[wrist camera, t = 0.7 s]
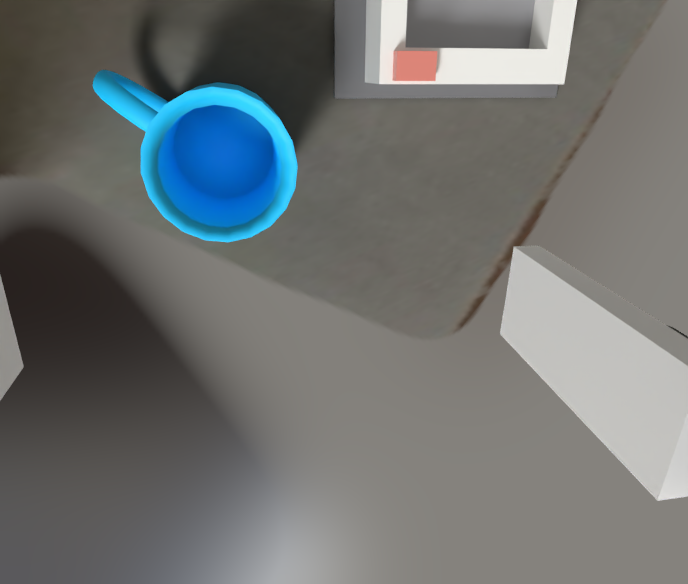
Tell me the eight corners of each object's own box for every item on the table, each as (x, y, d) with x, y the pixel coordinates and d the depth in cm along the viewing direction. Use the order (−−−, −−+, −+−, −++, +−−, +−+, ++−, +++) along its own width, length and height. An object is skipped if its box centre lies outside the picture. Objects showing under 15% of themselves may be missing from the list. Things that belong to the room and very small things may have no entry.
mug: (308, 130, 36) (326, 146, 29) (246, 228, 38) (247, 267, 31) (142, 14, 32) (113, -2, 24) (81, 131, 34) (36, 150, 26)
